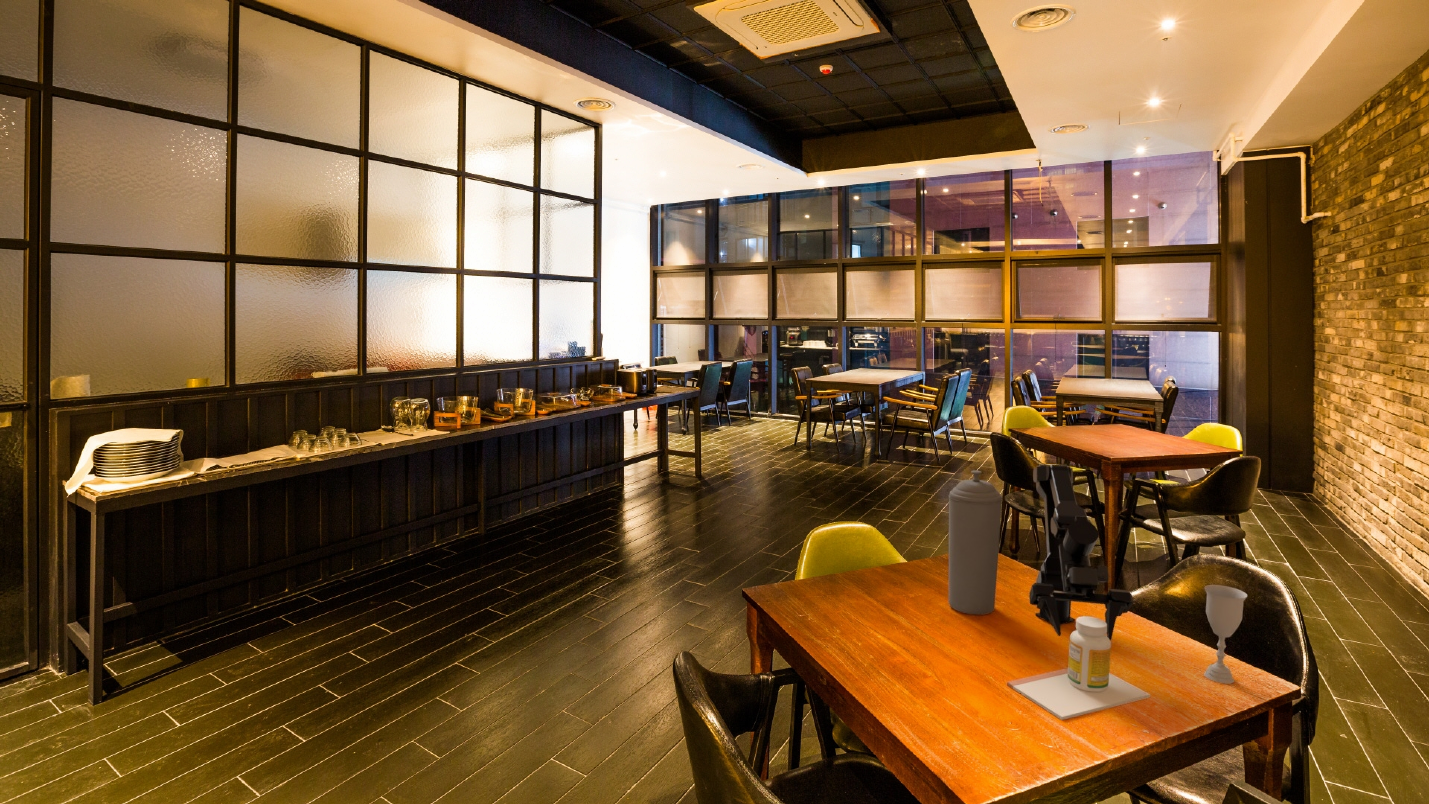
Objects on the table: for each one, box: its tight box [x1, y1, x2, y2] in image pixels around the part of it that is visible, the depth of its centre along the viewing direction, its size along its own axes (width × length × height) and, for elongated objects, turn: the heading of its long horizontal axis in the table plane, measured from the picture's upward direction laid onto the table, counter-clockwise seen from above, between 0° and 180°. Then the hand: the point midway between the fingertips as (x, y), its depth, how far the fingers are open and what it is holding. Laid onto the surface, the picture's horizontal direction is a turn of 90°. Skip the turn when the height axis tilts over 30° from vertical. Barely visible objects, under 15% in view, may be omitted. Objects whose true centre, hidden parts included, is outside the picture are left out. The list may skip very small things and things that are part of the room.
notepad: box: [1006, 667, 1151, 721], centre depth 140 cm, size 22×14×1 cm, turn 110°
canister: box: [948, 470, 1004, 616], centre depth 180 cm, size 13×13×35 cm
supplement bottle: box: [1067, 615, 1112, 692], centre depth 141 cm, size 7×7×13 cm
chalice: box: [1203, 584, 1248, 685], centre depth 144 cm, size 7×7×18 cm
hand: (1084, 637), depth 145 cm, fingers open, 9 cm apart
